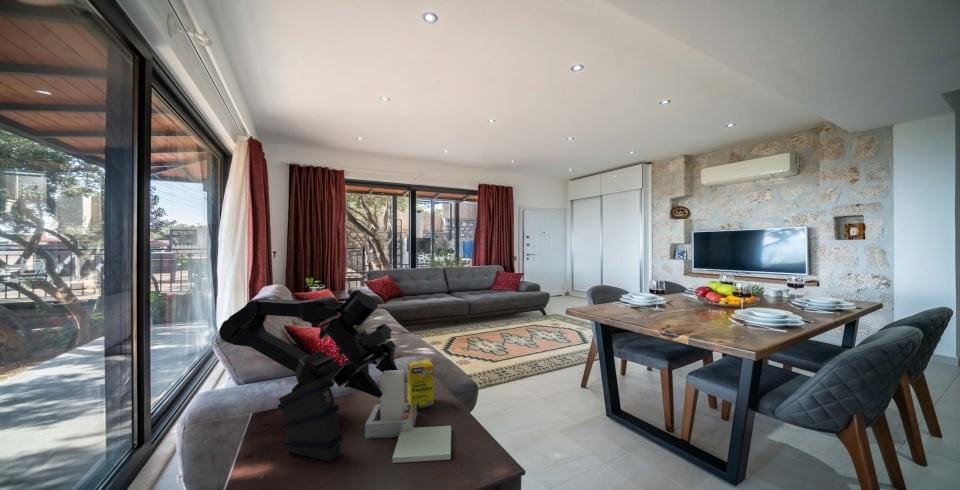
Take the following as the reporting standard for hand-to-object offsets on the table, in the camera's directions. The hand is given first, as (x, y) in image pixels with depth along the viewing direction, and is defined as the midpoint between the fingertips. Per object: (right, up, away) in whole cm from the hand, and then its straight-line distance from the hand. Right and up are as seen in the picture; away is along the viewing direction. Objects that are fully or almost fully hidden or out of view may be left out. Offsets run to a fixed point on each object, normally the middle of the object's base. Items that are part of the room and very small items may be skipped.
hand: (391, 388), depth 79 cm
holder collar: (0, -9, 0) cm, 9 cm away
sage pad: (+9, -8, -9) cm, 15 cm away
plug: (0, -9, 0) cm, 9 cm away
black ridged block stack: (-14, -9, -10) cm, 19 cm away
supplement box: (+5, -9, +11) cm, 15 cm away
